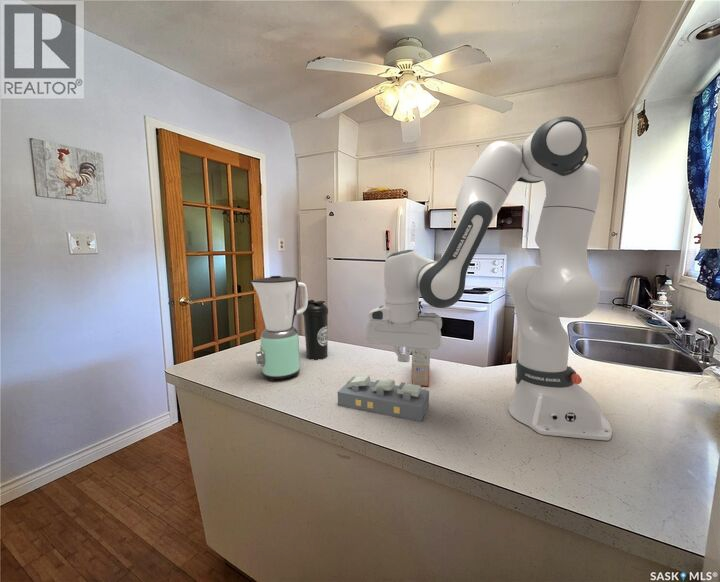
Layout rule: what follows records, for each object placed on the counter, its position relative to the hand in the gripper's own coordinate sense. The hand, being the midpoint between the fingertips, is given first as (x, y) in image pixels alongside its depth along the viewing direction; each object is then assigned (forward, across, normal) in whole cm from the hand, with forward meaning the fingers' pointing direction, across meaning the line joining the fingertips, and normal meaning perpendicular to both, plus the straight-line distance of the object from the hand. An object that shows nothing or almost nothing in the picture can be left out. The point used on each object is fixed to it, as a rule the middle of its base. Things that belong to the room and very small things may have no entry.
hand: (403, 361), depth 89 cm
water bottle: (+13, +44, -28) cm, 54 cm away
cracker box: (+14, 0, -22) cm, 26 cm away
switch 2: (+8, +6, 0) cm, 10 cm away
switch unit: (+14, +6, 0) cm, 15 cm away
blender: (+12, +46, -8) cm, 49 cm away
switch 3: (+8, -1, 0) cm, 8 cm away
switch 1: (+7, +14, 0) cm, 16 cm away
